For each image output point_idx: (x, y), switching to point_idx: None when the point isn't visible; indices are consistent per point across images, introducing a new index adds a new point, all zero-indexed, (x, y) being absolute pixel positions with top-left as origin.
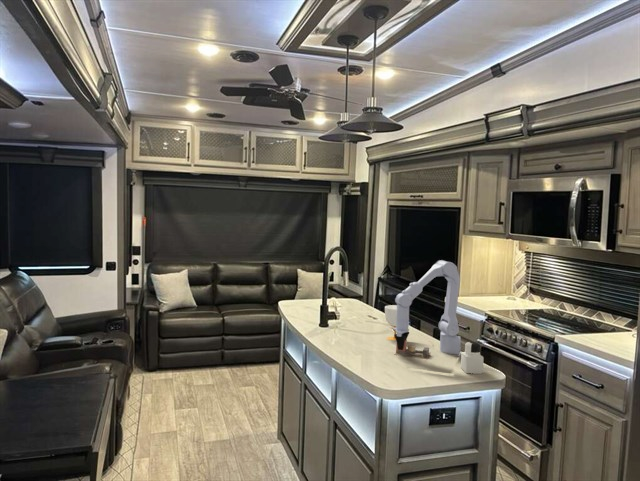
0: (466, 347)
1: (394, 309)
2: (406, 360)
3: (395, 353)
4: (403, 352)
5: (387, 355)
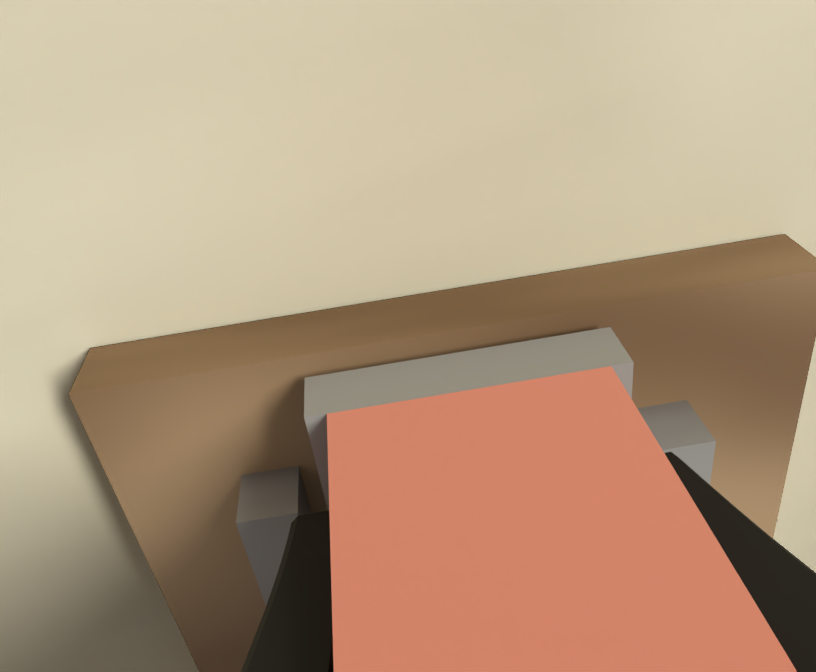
0: None
1: None
2: (101, 615)
3: (239, 377)
4: None
5: (132, 111)
